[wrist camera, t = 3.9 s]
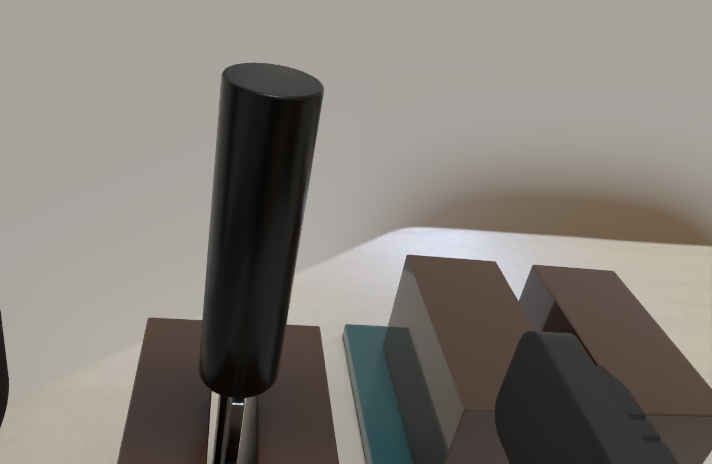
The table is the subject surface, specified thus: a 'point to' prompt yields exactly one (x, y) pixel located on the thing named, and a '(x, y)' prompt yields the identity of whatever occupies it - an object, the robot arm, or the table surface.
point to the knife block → (193, 401)
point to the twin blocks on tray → (506, 359)
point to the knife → (255, 230)
